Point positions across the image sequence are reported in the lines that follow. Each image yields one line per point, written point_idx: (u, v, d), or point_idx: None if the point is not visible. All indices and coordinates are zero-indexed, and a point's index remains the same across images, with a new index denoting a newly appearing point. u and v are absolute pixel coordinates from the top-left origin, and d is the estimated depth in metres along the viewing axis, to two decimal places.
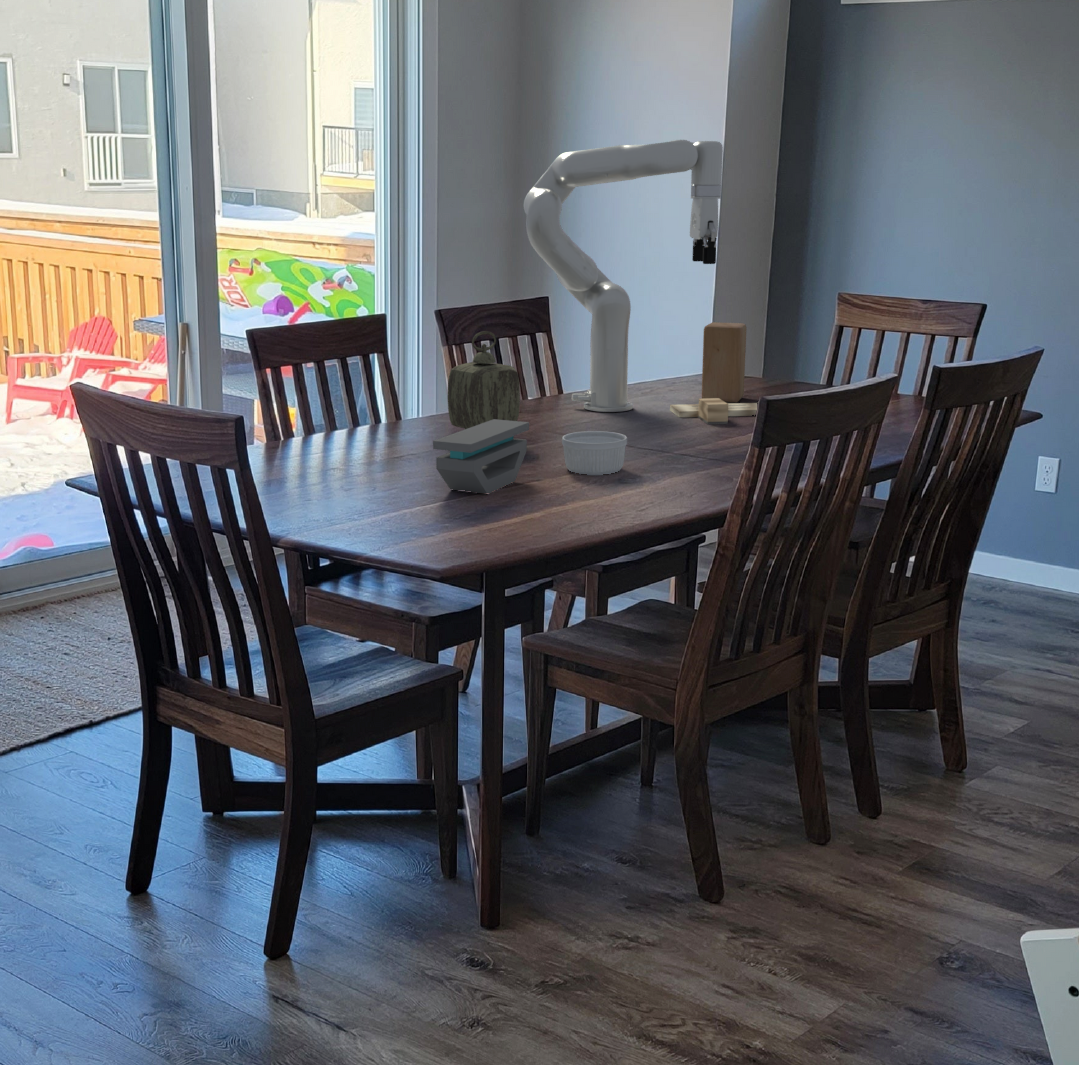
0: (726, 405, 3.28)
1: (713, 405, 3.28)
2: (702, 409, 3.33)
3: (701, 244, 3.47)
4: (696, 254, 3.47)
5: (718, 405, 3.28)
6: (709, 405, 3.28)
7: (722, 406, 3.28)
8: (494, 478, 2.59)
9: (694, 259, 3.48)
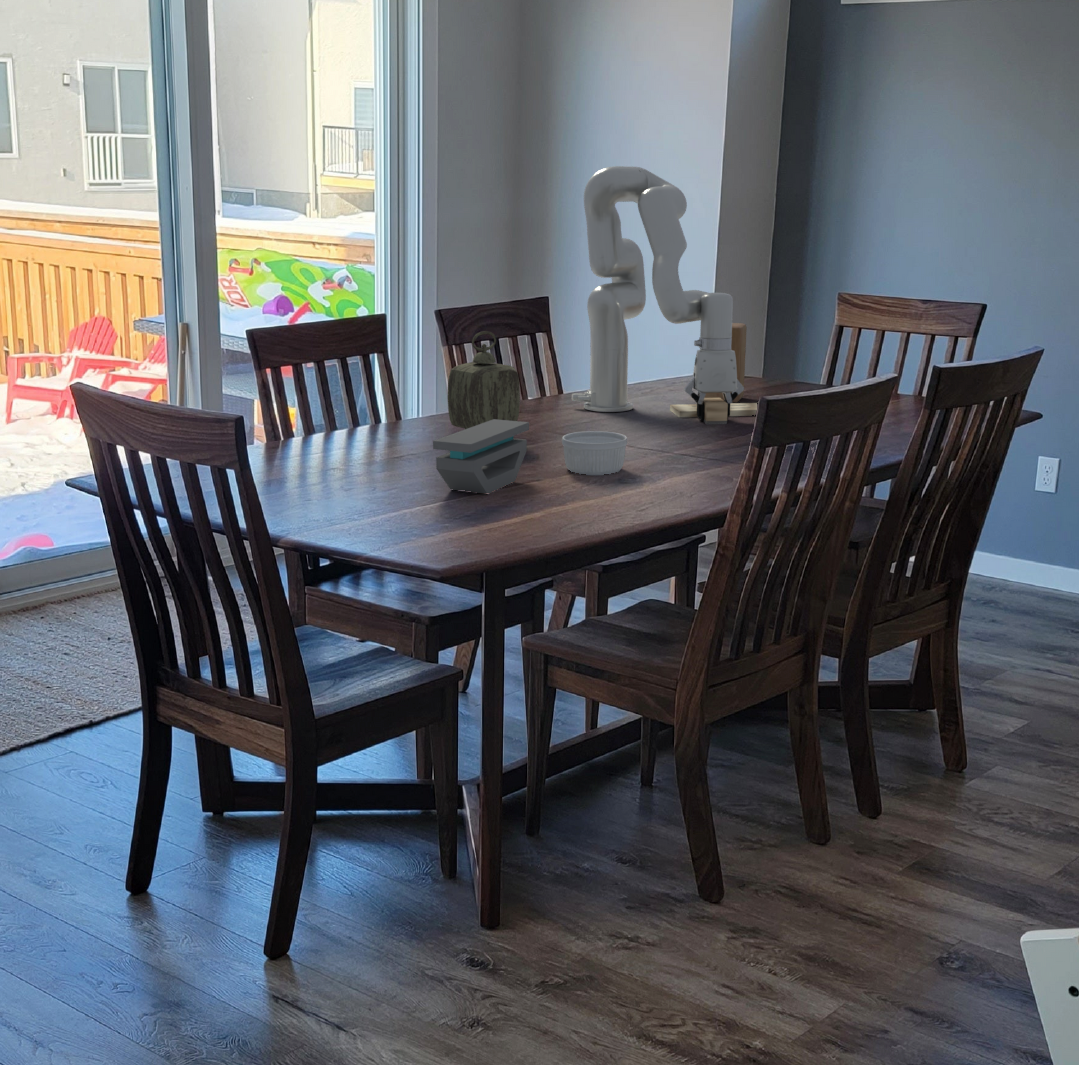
0: (725, 404, 3.28)
1: (712, 404, 3.28)
2: None
3: None
4: None
5: (717, 404, 3.28)
6: (708, 404, 3.28)
7: (721, 405, 3.28)
8: (494, 478, 2.59)
9: None
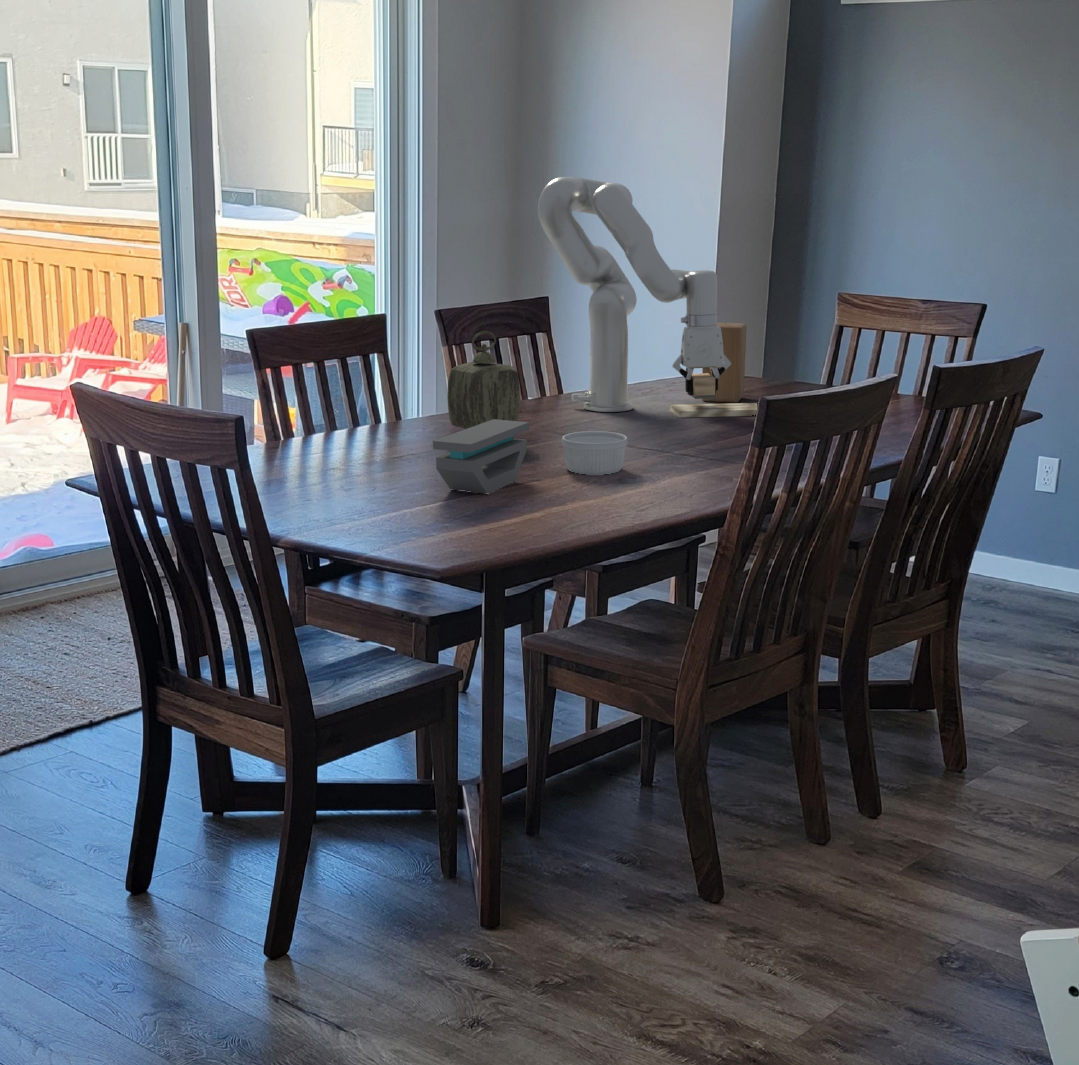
0: (713, 379, 3.36)
1: (700, 379, 3.36)
2: None
3: None
4: None
5: (705, 379, 3.36)
6: (696, 379, 3.36)
7: (709, 380, 3.36)
8: (494, 478, 2.59)
9: (692, 393, 3.40)
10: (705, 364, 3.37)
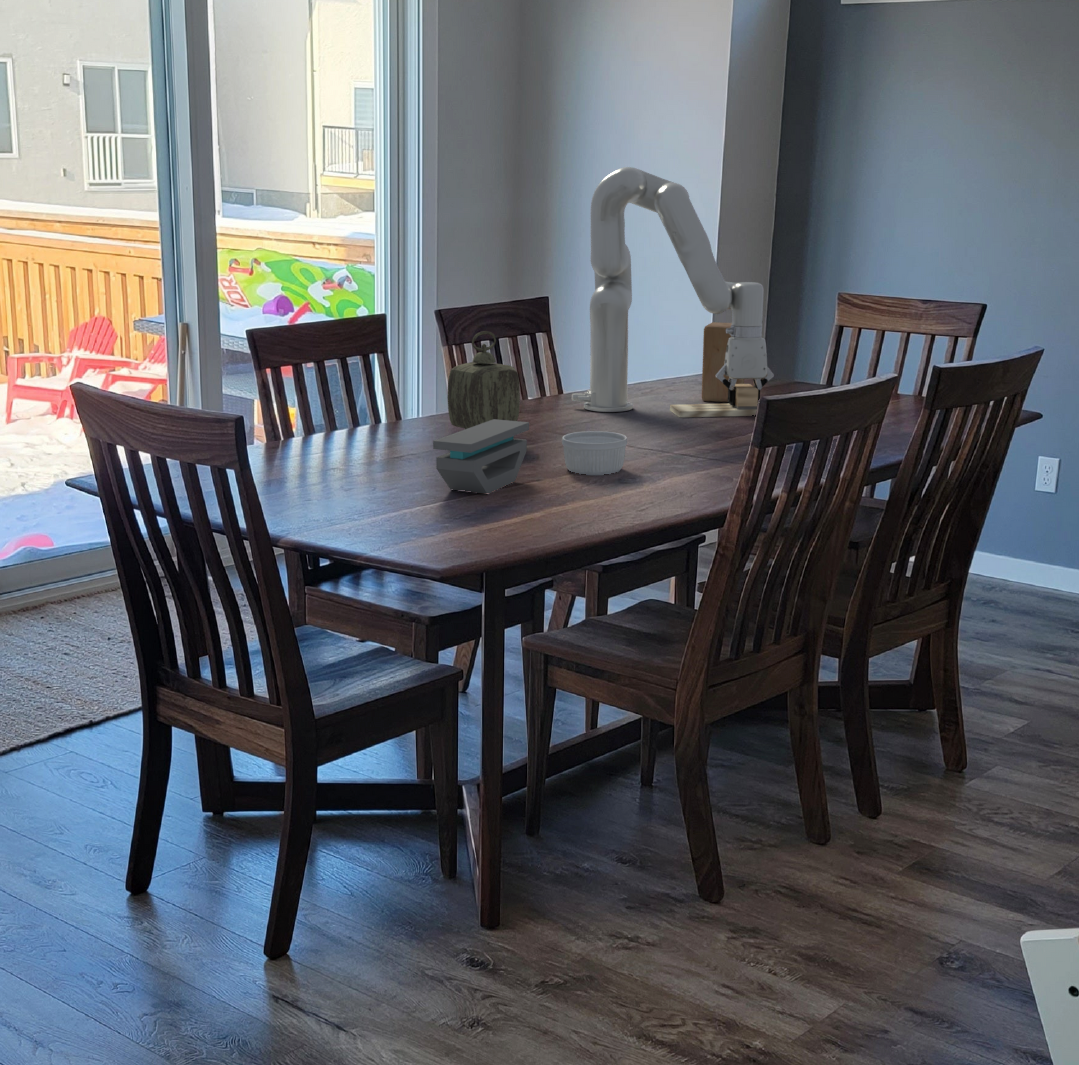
0: (756, 390, 3.39)
1: (743, 390, 3.39)
2: None
3: None
4: None
5: (748, 390, 3.39)
6: (739, 390, 3.39)
7: (752, 391, 3.39)
8: (494, 478, 2.59)
9: (734, 403, 3.43)
10: (748, 375, 3.40)
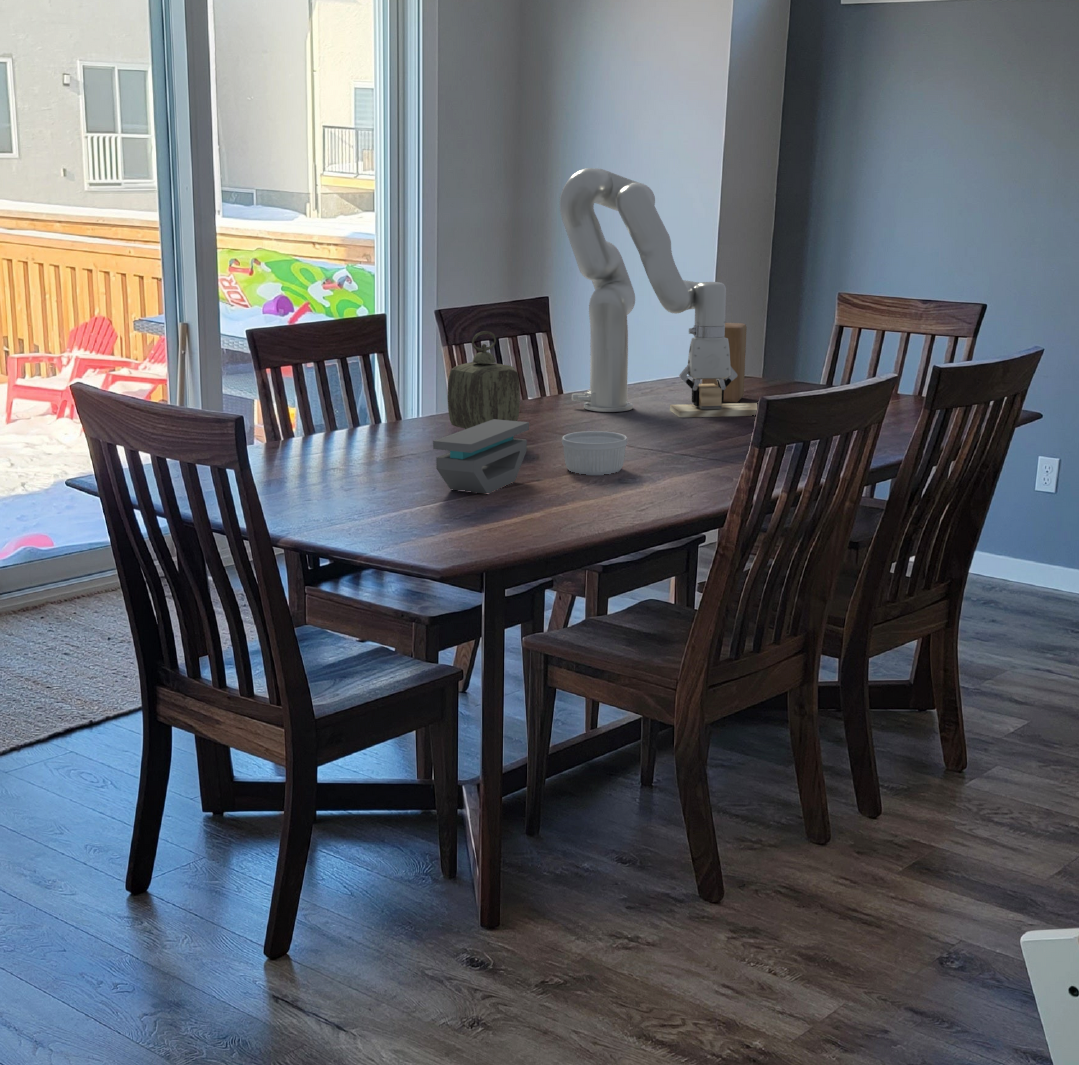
0: (719, 390, 3.38)
1: (707, 390, 3.37)
2: None
3: None
4: None
5: (712, 390, 3.37)
6: (703, 390, 3.37)
7: (716, 391, 3.38)
8: (494, 478, 2.59)
9: (698, 404, 3.41)
10: (712, 375, 3.38)
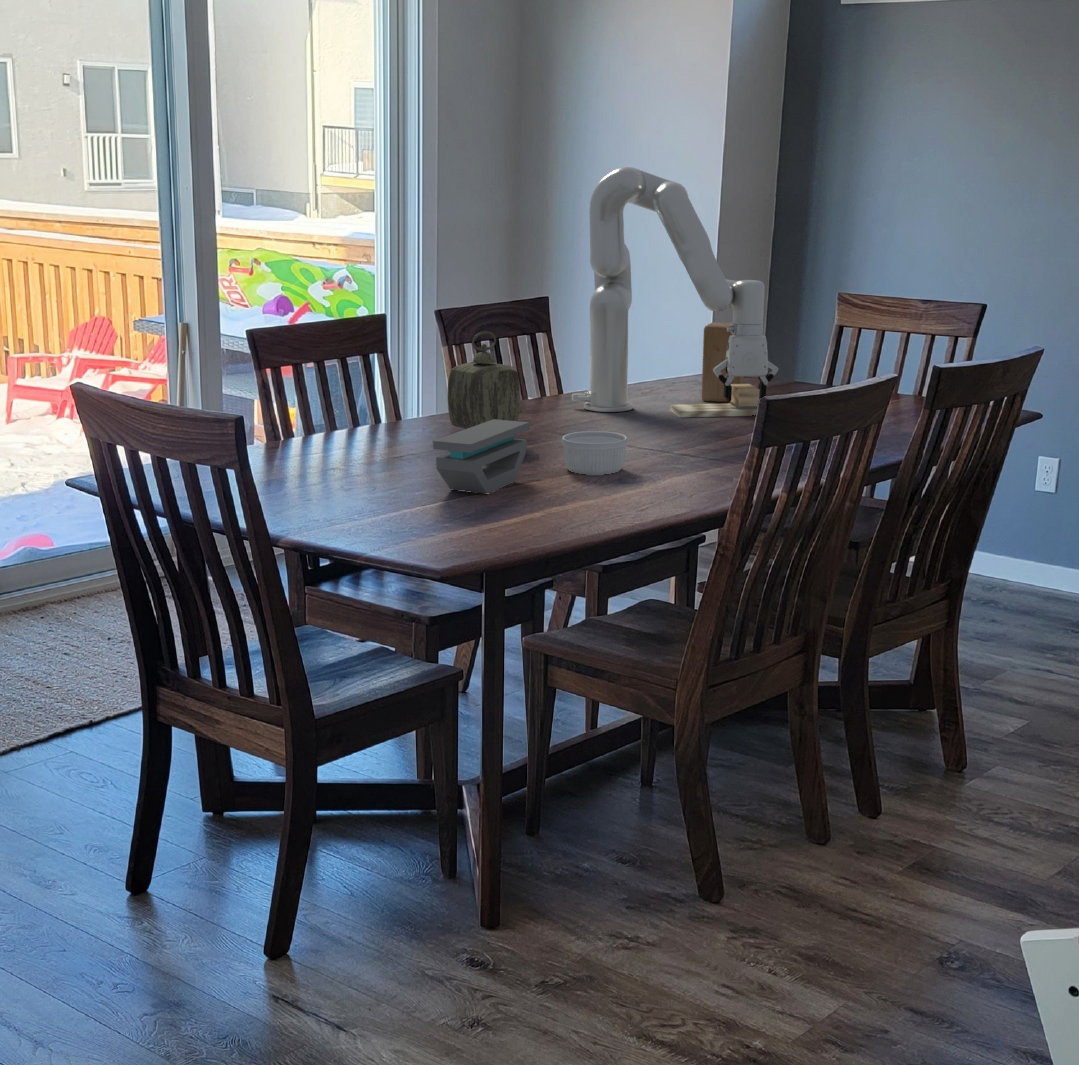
0: (757, 390, 3.39)
1: (745, 390, 3.39)
2: (734, 394, 3.44)
3: None
4: None
5: (750, 390, 3.39)
6: (741, 390, 3.39)
7: (753, 391, 3.39)
8: (494, 478, 2.59)
9: (730, 399, 3.42)
10: (749, 373, 3.40)
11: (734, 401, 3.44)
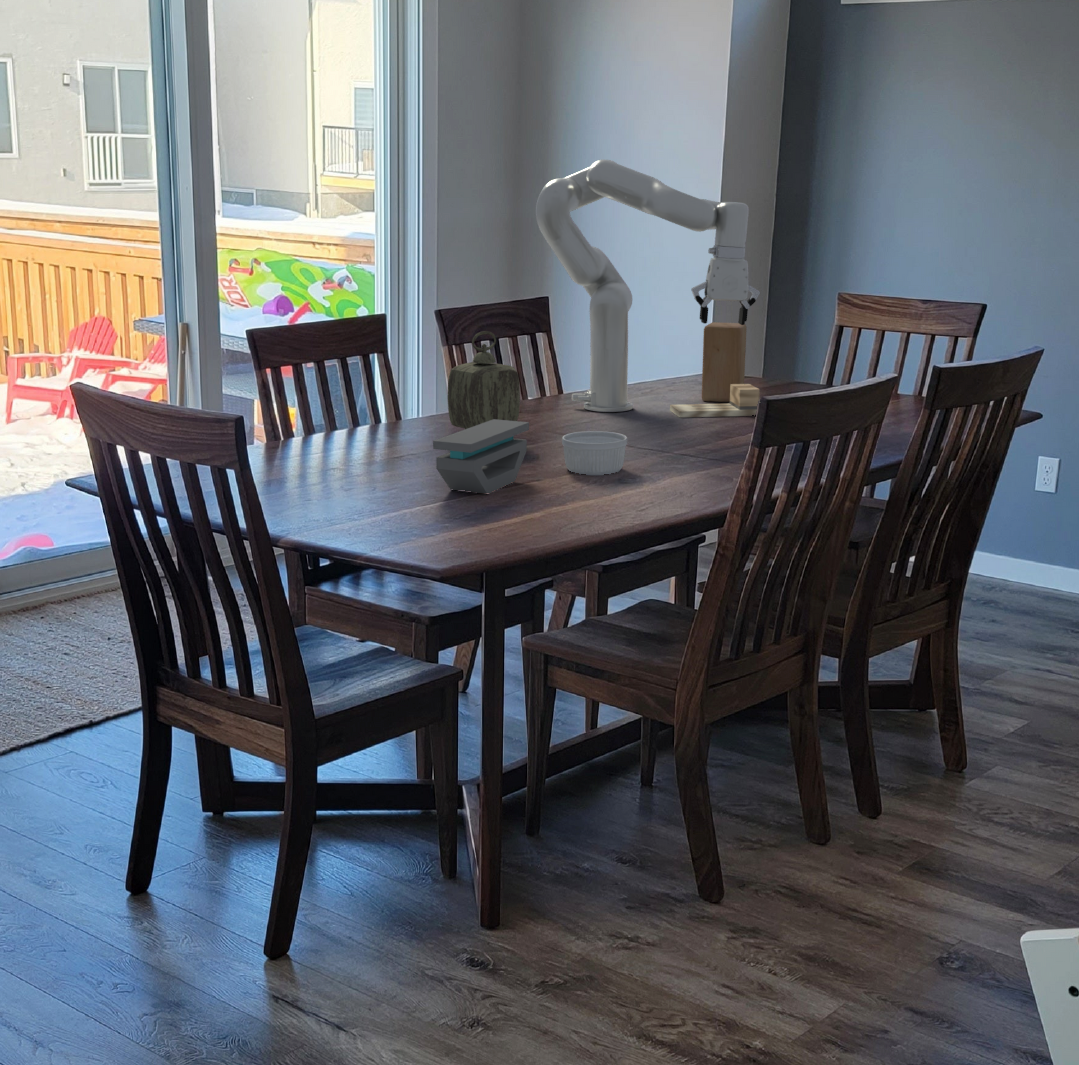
0: (757, 390, 3.39)
1: (745, 390, 3.39)
2: (734, 394, 3.44)
3: None
4: None
5: (750, 390, 3.39)
6: (741, 390, 3.39)
7: (753, 391, 3.39)
8: (494, 478, 2.59)
9: (706, 321, 3.37)
10: (729, 297, 3.35)
11: (734, 401, 3.44)
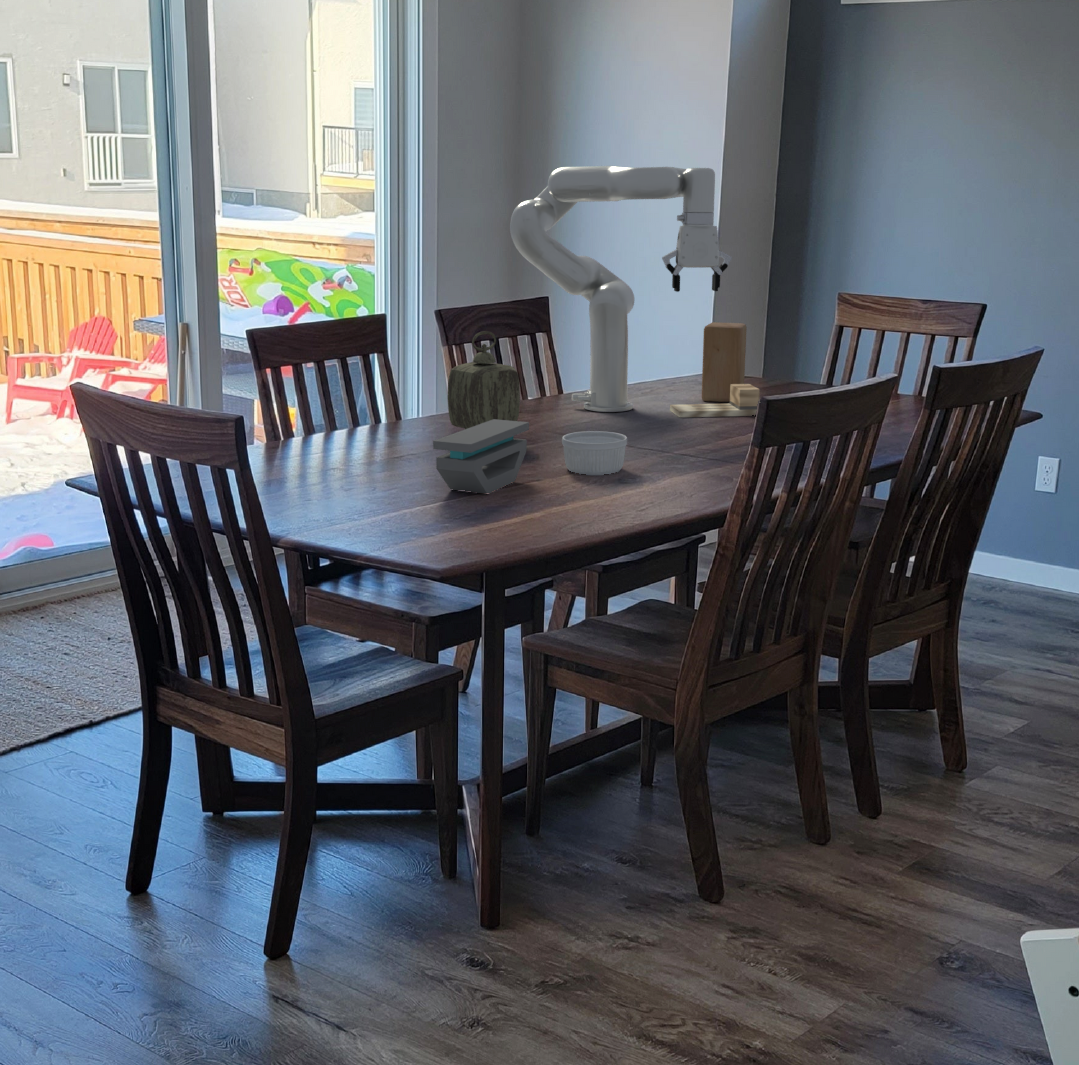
0: (757, 390, 3.39)
1: (745, 390, 3.39)
2: (734, 394, 3.44)
3: None
4: None
5: (750, 390, 3.39)
6: (741, 390, 3.39)
7: (753, 391, 3.39)
8: (494, 478, 2.59)
9: None
10: (700, 263, 3.33)
11: (734, 401, 3.44)
